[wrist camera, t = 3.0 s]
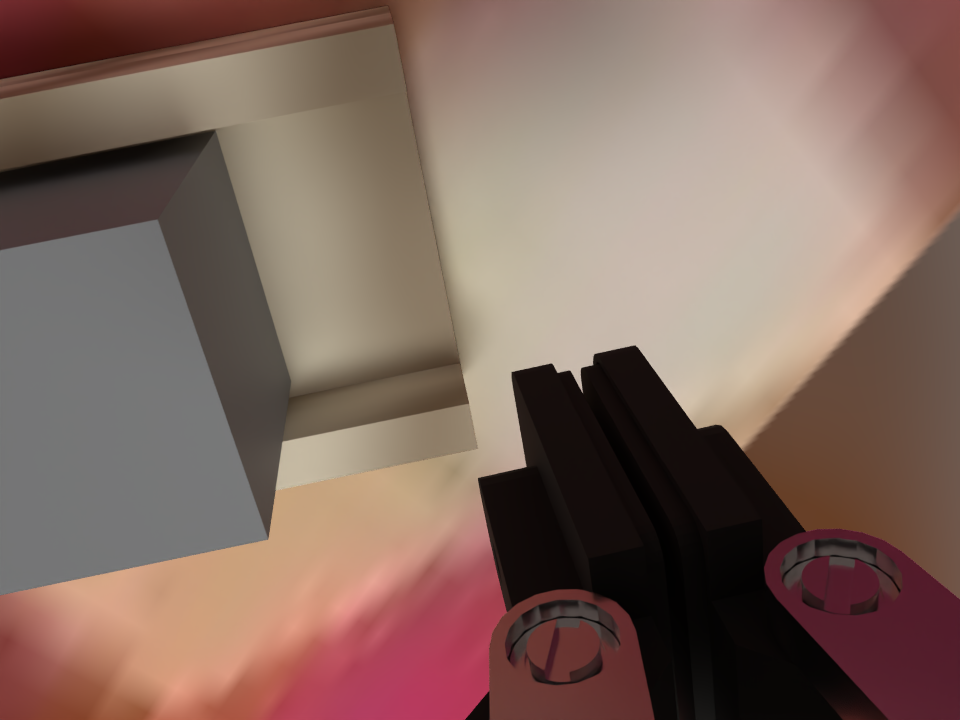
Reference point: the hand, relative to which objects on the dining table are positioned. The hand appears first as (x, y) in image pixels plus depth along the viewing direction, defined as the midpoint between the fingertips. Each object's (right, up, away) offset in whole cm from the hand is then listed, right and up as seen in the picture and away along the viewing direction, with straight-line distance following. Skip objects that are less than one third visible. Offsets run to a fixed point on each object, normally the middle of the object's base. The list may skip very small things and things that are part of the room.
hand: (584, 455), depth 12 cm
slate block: (-9, +3, +8) cm, 12 cm away
